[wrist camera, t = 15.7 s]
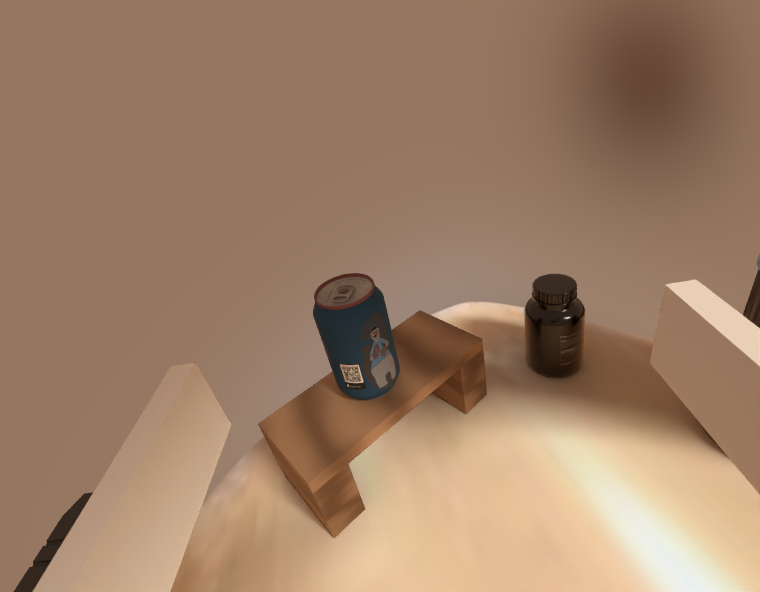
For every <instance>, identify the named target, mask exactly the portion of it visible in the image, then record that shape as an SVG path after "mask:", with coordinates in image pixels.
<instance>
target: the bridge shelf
mask: <svg viewBox="0 0 760 592" xmlns="http://www.w3.org/2000/svg"><path fill="white" fill-rule="evenodd" d="M391 331H392V335H393V339H394V344H395V348H396V352H397V357H398V361H399V365H400V372H399V376H398V378H397V380H396V382H395V384H394V386H393V388H392V389H391V390H390V391H389V392H388V393H387V394H385V395H384V396H382V397H380V398H378V399H375V400H370V401H360V400H356V399H354V398H352V397H350V396H348V395H346V394H345V393H344V392H342V391H341V390H340V389H339V387H338V385H337V383H336V380H335V377H334V374H333V372H331V373H330V374H329V375H327V376H326V377H324V378H323V379H321V380H320V381H319V382H317V383H316V384H314V385H313V386H312V387H310V388H309V389H307V390H306V391H304V392H303V393H301V394H300V395H299V396H297V397H296V398H294V399H293V400H292V401H290V402H289V403H287V404H286V405H284V406H283V407H282V408H280V409H279V410H277V411H276V412H274V413H273V414H272V415H270V416H269V417H267V418H266V419H265V420H263V421H262V422H260V423H259V424H258V425H259V427H260V429H261V431H262V432H263V435H264V436H265V438H266V440H267V442H268V444H269V446H270V448H271V450H272V452H273V454H274V456H275V457H276V459H277V461H278V463H279V465H280V467H281V469H282V471H283V473H284V475H285V476H286V478H287V479H288V480H289V481H290V483H291V484H292V485H293V487H294V488H295V489H296V490H297V492H298V493H299V494H300V495H301V497H302V498H303V499H304V501H305V502H306V503H307V504H308V506H309V507H310V508H311V509H312V511H313V512H314V513H315V514H316V516H317V517H318V518H319V520H320V521H321V522H322V523H323V525H324V526H325V527H326V528H327V530H328V531H329V532H330V533H331V535H332V536H333V537H334V538H335V537H336V536H337V535H338V534H339V533H340V532H341V531H342V530H343V529H344V528H345V527H347V526H348V525H349V524H350V523H351V522H352V521H353V520H354V519H355V518H356V517H357V516H358V515H359V514H360V513H361V512H362V511H364V510H365V507H364V504H363V502H362V499H361V497H360V494H359V491H358V489H357V486H356V483H355V481H354V478H353V476H352V473H351V470H350V468H349V465H348V463H350V462H351V461H352V460H353V459H354V458H355V457H357V456H358V455H359V454H360V453H361V452H362V451H364V450H365V449H366V448H367V447H368V446H370V445H371V444H372V443H373V442H374V441H375V440H377V439H378V438H379V437H380V436H381V435H382V434H384V433H385V432H386V431H387V430H388V429H389V428H391V427H392V426H393V425H394V424H395V423H397V422H398V421H399V420H400V419H401V418H402V417H404V416H405V415H406V414H407V413H408V412H409V411H411V410H412V409H413V408H414V407H415V406H416V405H418V404H419V403H420V402H421V401H422V400H424V399H425V398H426V397H427V396H428V395H429V394H431V393H434V394H436V395H437V396H439V397H440V398H442V399H443V400H445V401H447V402H448V403H450V404H451V405H453V406H454V407H456V408H458V409H459V410H461V411H462V412H464V413H465V414H467V413H468V412H469V411H470V410H471V409H472V408H473V407H474V406H475V405H476V404H477V403H478V402H479V401H480V400H481V399H483V398H484V397H485V396H486V395H487V391H486V379H485V368H484V356H483V344H482V339H481V338H479V337H477V336H475V335H473V334H470V333H468V332H466V331H464V330H462V329H459V328H457V327H455V326H453V325H451V324H449V323H446V322H444V321H442V320H440V319H438V318H435V317H433V316H431V315H429V314H427V313H425V312H422V311H418V312H417V313H415V314H414V315H413V316H411V317H410V318H408V319H407V320H406V321H404V322H403V323H401V324H400V325H398V326H397V327H395V328H394V329H393V330H391Z"/></svg>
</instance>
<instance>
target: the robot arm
mask: <svg viewBox="0 0 760 592" xmlns="http://www.w3.org/2000/svg"><path fill="white" fill-rule="evenodd" d="M757 265H758V268H759V269H758V272H757V275H756V278H755V281H754V284H753V287H752V290H751V293H750V296H749V298H748V301H747V304H746V307H745V310H744V313H743V315H741V314H740V313H739V312H737V311H736V310H735V309H734V308H732V307H731V306H730V305H728V304H727V303H726V302H724V301H723V300H722V299H721V298H719V297H718V296H717V295H715V294H714V293H713V292H711V291H710V290H709V289H707V288H706V287H705V286H704V285H702V284H701V283H700V282H698V281H697V280H690V281H684V282H678V283H673V284H666V285H665V288H664V293H663V299H662V303H661V308H660V314H659V319H658V324H657V329H656V334H655V339H654V344H653V349H652V354H651V359H650V364H651V365H652V366H653V367H654V369H655V370H656V371H657V372H658V373H659V375H660V376H661V377H662V378H663V379H664V381H665V382H666V383H667V384H668V385H669V387H670V388H671V389H672V390H673V391H674V393H675V394H676V395H677V396H678V397H679V399H680V400H681V401H682V402H683V403H684V405H685V406H686V407H687V408H688V409H689V410H690V412H691V413H692V414H693V415H694V416H695V418H696V419H697V420H698V421H699V422H700V424H701V425H702V426H703V428H704V429H705V431H706V432H707V433H708V434H709V435H710V436H711V437H712V439H713V440H714V441H715V442H716V443H717V444H718V445H719V446H720V448H721V449H722V450H723V451H724V452H725V454H726V455H727V456H728V457H729V458H730V460H731V461H732V462H733V463H734V464H735V466H736V467H737V468H738V469H739V470H740V472H741V473H742V474H743V475H744V476H745V478H746V479H747V480H748V481H749V482H750V484H751V485H752V486H753V487H754V488H755V490H756V491H757V492H758V493H759V494H760V254H759V256H758V261H757ZM230 427H231V424H230V422H229V420H228V418H227V417H226V415H225V413H224V412H223V410H222V408H221V406H220V405H219V403H218V401H217V399H216V398H215V396H214V394H213V393H212V391H211V389H210V387H209V385H208V384H207V382H206V380H205V378H204V377H203V375H202V373H201V372H200V370H199V368H198V366H197V365H196V363H195V362H194V363H188V364H182V365H176V366H171V367H170V368H169V370H168V372H167V373H166V375H165V376H164V378H163V380H162V381H161V383H160V385H159V386H158V388H157V389H156V391H155V393H154V394H153V396H152V398H151V399H150V401H149V403H148V404H147V406H146V407H145V409H144V411H143V412H142V414H141V416H140V417H139V419H138V421H137V422H136V424H135V425H134V427H133V429H132V430H131V432H130V434H129V435H128V437H127V439H126V440H125V442H124V443H123V445H122V447H121V448H120V450H119V451H118V453H117V455H116V456H115V458H114V460H113V461H112V463H111V465H110V466H109V468H108V470H107V471H106V473H105V474H104V476H103V478H102V479H101V481H100V482H99V484H98V486H97V488H96V489H95V491H94V492H93V493H86V494H84V495H83V496H82V497H81V498H80V499H79V500H78V501H77V502H76V503H75V504H74V505H73V506H72V507H71V508H70V509H69V510H68V511H67V512H66V513H65V514H64V515H63V516H62V518H61V519H60V521H59V522H58V524H57V526H56V527H55V529H54V531H53V532H52V533H51V535H50V536H49V538H48V539H47V544H46V546H43V547H42V549H41V550H40V552H39V553H38V555H37V557H36V558H35V560H34V561H33V566H32V567H30V568H29V569H28V571H27V572H26V573H25V575H24V577H23V578H22V580H21V581H20V583H19V584H18V586H17V588H16V589H15V591H14V592H170V591H171V588H172V586H173V583H174V580H175V577H176V575H177V572H178V569H179V566H180V564H181V561H182V558H183V556H184V553H185V550H186V547H187V545H188V542H189V539H190V536H191V534H192V531H193V528H194V525H195V523H196V520H197V517H198V515H199V512H200V509H201V506H202V504H203V501H204V498H205V495H206V493H207V490H208V487H209V484H210V482H211V479H212V476H213V473H214V470H215V468H216V465H217V463H218V460H219V457H220V454H221V452H222V449H223V446H224V443H225V441H226V438H227V435H228V433H229V430H230Z"/></svg>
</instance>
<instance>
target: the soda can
mask: <svg viewBox="0 0 760 592" xmlns="http://www.w3.org/2000/svg"><path fill="white" fill-rule="evenodd" d="M314 299H315V305H314V310H313V315H314V319H315V322H316V324H317V327H318V330H319V333H320V336H321V339H322V342H323V345H324V348H325V351H326V354H327V356H328V359H329V362H330V365H331V368H332V371H333V374H334V377H335V380H336V383H337V385H338V387H339V389H340V390H341V391H342V392H344V393H345V394H346V395H348V396H350V397H352V398H354V399H356V400H360V401H370V400H375V399H378V398H380V397H382V396H384V395H385V394H387V393H388V392H389V391H390V390H391V389H392V388H393V386H394V384H395V382H396V380H397V378H398V376H399V372H400V365H399V361H398V357H397V352H396V348H395V344H394V339H393V335H392V331H391V326H390V322H389V318H388V313H387V309H386V305H385V301H384V296H383V294H382V292H381V291H380V290H379V289H378V288H377V287H376V286H375V285H374V282H373V280H372V279H371V278H370V277H369V276H367V275H364V274H359V273H352V274H344V275H340V276H337V277H334V278H332V279H329V280H328V281H326V282H324V283H323V284H321V285H320V286H319V287H318V288H317V290H316V292H315V294H314Z"/></svg>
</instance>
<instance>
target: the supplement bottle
mask: <svg viewBox="0 0 760 592" xmlns="http://www.w3.org/2000/svg"><path fill="white" fill-rule="evenodd" d="M524 314H525V342H526V359H527V362H528V364H529V366H530V367H531V368H532V369H533V370H535V371H536V372H538V373H540V374H542V375H545V376H549V377H564V376H568V375H570V374H573V373H574V372H576V371H577V370H578V369H579V368H580V366H581V364H582V357H583V342H584V324H585V308H584V306H583V304H582V302H581V301H580V300H579V299H578V298H577V284H576V282H575V280H574V279H573V278H571V277H569V276H567V275H563V274H547V275H543V276H540V277H538V278H537V279H536V280H535V281H534V283H533V292H532V298H531V299H530V300H529V301H528V302H527V304H526V306H525V312H524Z"/></svg>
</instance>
